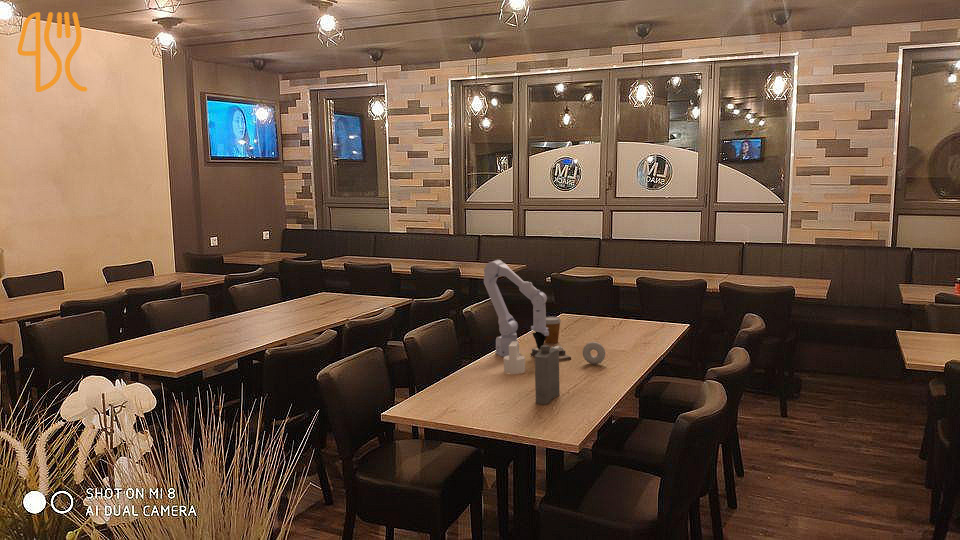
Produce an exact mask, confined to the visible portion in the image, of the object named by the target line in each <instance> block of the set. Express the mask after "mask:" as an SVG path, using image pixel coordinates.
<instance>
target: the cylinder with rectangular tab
mask: <svg viewBox="0 0 960 540" xmlns="http://www.w3.org/2000/svg"><path fill="white" fill-rule="evenodd" d="M519 353H520V341H518V340H517V341H512V342H511V343H510V345H509V355H508V356H505V357H503V372H504V373H505V374H507V373H510V374H509V375H520V374H519V373H521V374H524V373H526V357H525V355H521V354H520V355H519ZM523 372H524V373H523Z"/></svg>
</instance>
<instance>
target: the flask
mask: <svg viewBox="0 0 960 540" xmlns="http://www.w3.org/2000/svg"><path fill="white" fill-rule="evenodd" d="M540 350H541V351H540V352H538V353H537V354H536V355H535V358H534V377H535V378H534V380H535V381H534V382H535V387H534V388H535V389H534V390H535V403H536V404H537V405H540V404H542V405H541V406H545V404H546V405H549V404H550V402H551V401H552V400H553V399H555V398H557V397H559V396H560V394H561V393H560V392H561V391H560V361H559V350H558V349H556V348H551V346H550V345H549V344H544V345H542V346H541V347H540ZM556 396H557V397H556ZM554 397H555V398H554Z"/></svg>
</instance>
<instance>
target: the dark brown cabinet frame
mask: <svg viewBox="0 0 960 540" xmlns="http://www.w3.org/2000/svg"><path fill="white" fill-rule="evenodd" d="M534 349H535V348H532V349H531V353H529V354H530V355H531V356H530V357H532V356H533V358H534V359H535V355H536V354H537V353H538V352H540V351H536V350H534ZM570 360H572V357H571V356H570V355H568V354H567V353H566V350H564V349H563V351H559V362H562V361H563V362H565V361H570Z"/></svg>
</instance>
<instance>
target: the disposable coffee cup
mask: <svg viewBox="0 0 960 540" xmlns="http://www.w3.org/2000/svg"><path fill="white" fill-rule="evenodd" d="M561 322H562V319H561V318H560V317H559V316H546V327H547V328H548V331H549V336H547V337H546V339H545V341H544V343H545V342H546V344H549V343H551V344H552V343H554V344H557V343H559V338H560V337H559V335H560V327H561Z"/></svg>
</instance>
